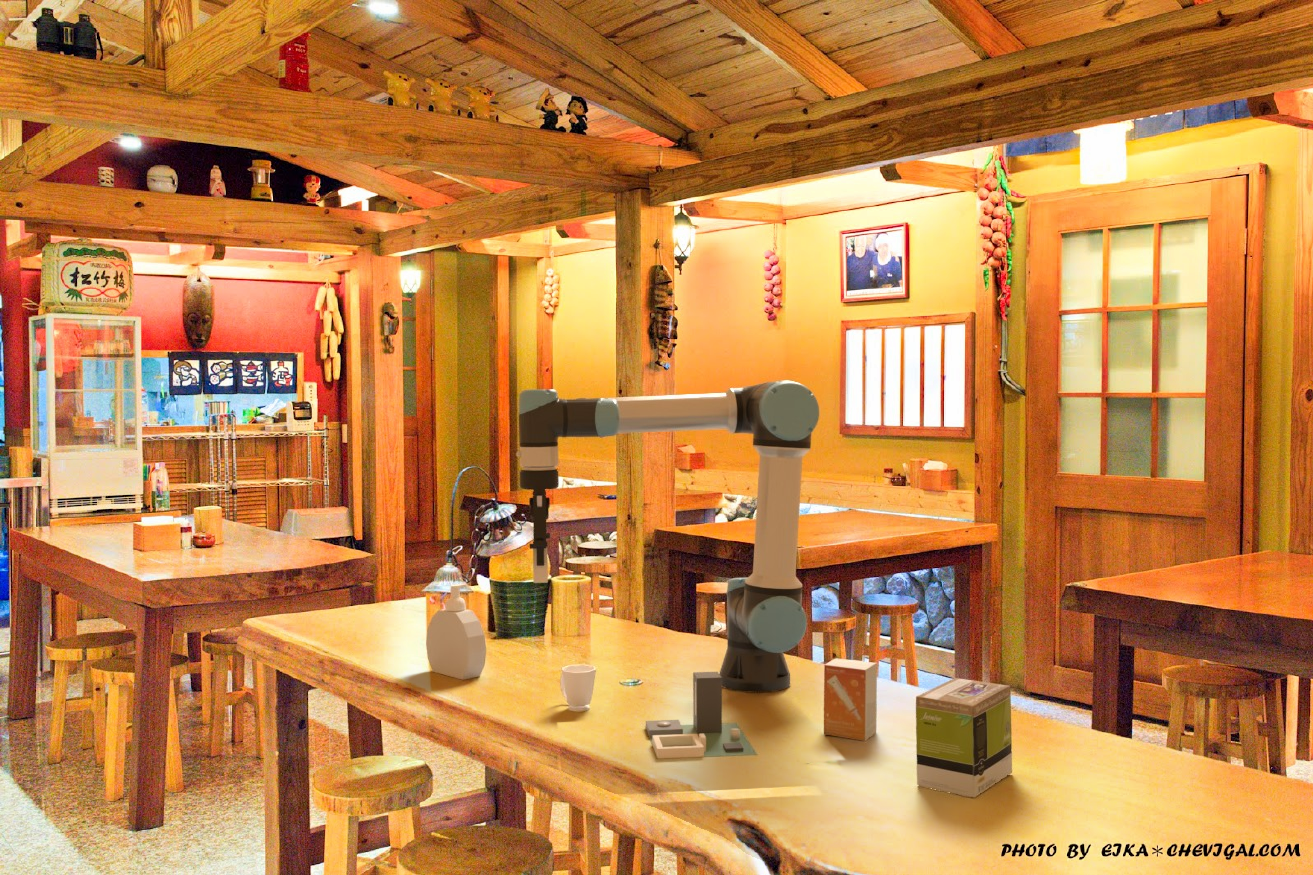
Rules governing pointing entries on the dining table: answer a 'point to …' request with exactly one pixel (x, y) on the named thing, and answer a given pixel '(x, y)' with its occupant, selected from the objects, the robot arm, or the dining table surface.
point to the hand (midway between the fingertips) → (540, 577)
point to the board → (721, 741)
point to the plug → (707, 702)
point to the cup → (578, 686)
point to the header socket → (679, 751)
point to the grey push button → (663, 727)
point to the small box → (850, 699)
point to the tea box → (963, 736)
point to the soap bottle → (456, 640)
